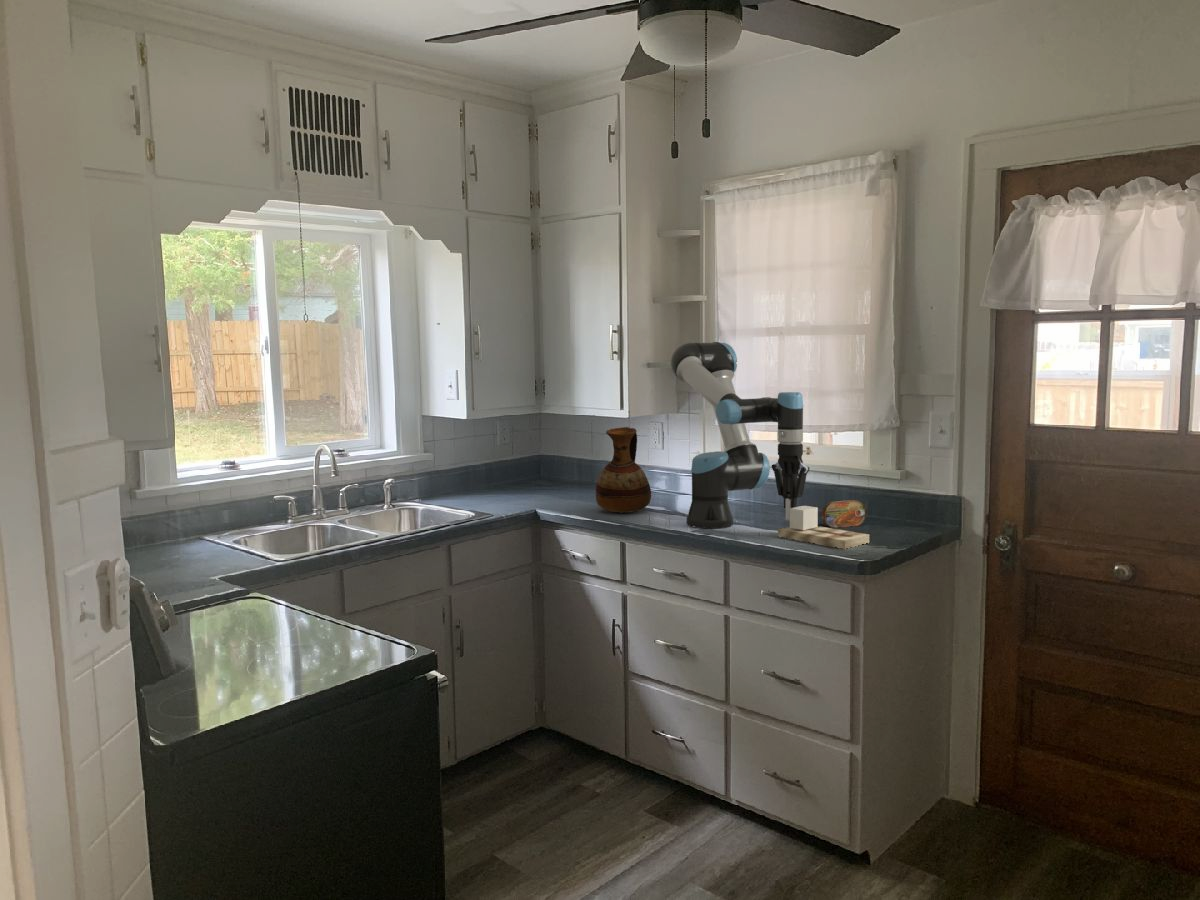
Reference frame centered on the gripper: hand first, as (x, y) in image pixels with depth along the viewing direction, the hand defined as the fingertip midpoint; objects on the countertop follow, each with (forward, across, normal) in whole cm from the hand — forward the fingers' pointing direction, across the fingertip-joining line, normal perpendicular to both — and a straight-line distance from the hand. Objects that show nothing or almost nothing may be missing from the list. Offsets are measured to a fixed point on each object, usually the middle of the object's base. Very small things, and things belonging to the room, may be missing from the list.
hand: (790, 519), depth 284 cm
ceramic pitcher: (+4, -67, -9) cm, 68 cm away
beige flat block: (+5, +12, 0) cm, 13 cm away
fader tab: (+2, +5, 0) cm, 5 cm away
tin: (+5, +4, +22) cm, 23 cm away
